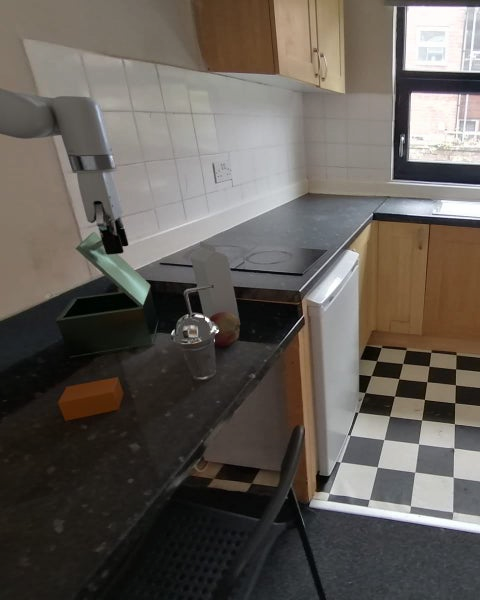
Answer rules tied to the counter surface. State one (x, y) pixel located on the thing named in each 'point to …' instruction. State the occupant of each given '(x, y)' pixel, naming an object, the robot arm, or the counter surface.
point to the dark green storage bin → (107, 324)
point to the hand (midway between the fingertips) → (117, 249)
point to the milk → (214, 281)
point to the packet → (91, 398)
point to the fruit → (226, 329)
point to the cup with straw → (197, 340)
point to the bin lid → (115, 269)
